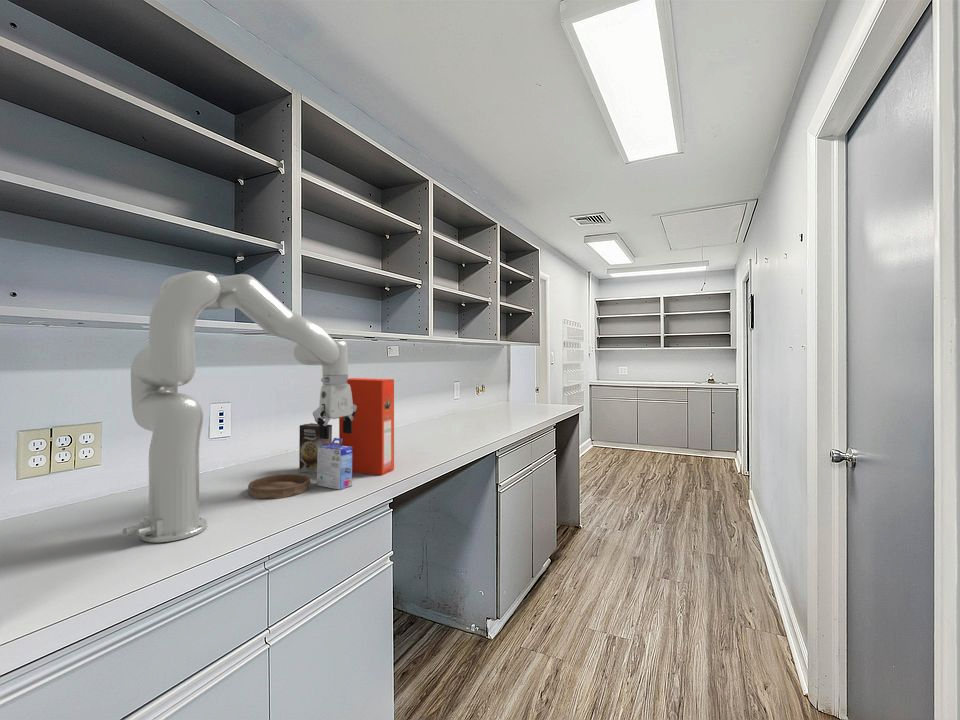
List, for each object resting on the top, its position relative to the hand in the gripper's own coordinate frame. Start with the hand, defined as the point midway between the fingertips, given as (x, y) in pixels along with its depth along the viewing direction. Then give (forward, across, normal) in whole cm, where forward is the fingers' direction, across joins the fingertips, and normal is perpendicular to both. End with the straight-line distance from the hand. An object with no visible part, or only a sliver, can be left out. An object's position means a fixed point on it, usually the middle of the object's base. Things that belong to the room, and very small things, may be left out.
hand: (336, 435), depth 140 cm
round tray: (+15, -12, +11) cm, 22 cm away
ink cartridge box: (+16, -1, 0) cm, 16 cm away
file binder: (+16, +18, +4) cm, 25 cm away
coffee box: (+16, +9, +19) cm, 26 cm away
